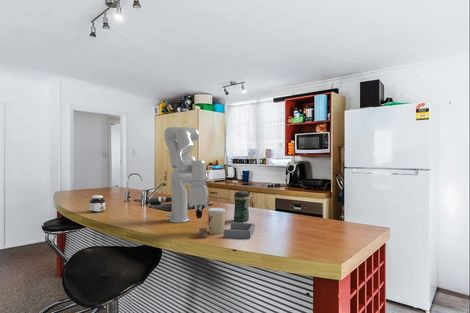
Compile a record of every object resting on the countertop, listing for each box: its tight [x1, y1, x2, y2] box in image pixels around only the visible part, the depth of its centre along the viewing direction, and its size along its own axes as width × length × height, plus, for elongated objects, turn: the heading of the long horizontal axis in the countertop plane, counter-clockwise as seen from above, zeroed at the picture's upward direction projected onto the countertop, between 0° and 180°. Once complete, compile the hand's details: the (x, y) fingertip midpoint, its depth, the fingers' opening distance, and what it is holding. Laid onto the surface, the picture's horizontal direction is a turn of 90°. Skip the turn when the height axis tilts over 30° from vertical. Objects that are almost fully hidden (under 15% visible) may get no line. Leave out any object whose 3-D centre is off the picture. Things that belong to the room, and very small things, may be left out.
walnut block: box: [198, 227, 208, 239], centre depth 136 cm, size 4×4×4 cm
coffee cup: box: [207, 207, 226, 235], centre depth 145 cm, size 9×9×12 cm
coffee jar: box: [233, 190, 250, 223], centre depth 172 cm, size 10×8×19 cm
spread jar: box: [88, 194, 106, 214], centre depth 202 cm, size 12×11×12 cm
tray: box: [223, 222, 256, 239], centre depth 142 cm, size 13×16×4 cm
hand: (199, 217), depth 146 cm, fingers closed
